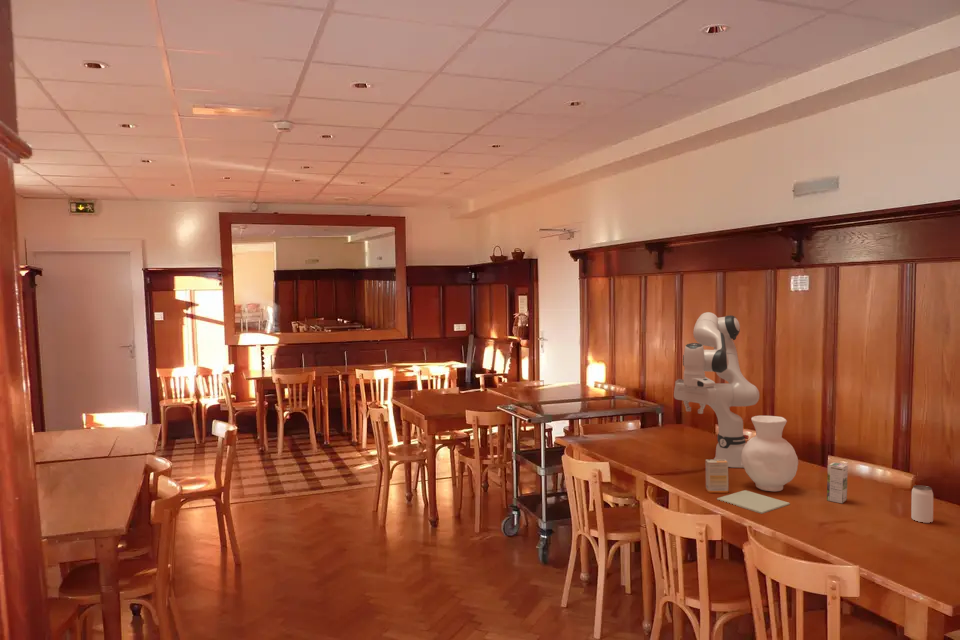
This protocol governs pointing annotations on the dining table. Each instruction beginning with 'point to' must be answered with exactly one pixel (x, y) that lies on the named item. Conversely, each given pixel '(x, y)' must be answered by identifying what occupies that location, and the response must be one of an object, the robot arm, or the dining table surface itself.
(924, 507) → the can
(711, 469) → the supplement box
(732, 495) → the board
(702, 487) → the dining table surface
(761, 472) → the vase
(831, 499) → the syrup box
